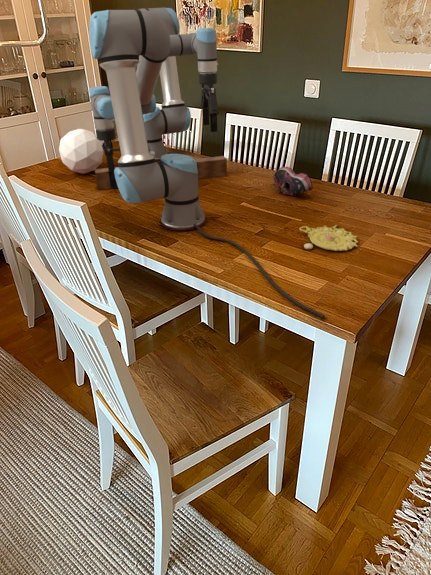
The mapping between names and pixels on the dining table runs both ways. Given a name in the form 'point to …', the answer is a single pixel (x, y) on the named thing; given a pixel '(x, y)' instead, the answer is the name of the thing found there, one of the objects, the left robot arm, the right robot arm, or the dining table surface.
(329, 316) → the dining table surface
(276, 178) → the athletic shoe
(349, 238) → the decorative object
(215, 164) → the bar
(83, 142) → the sphere
